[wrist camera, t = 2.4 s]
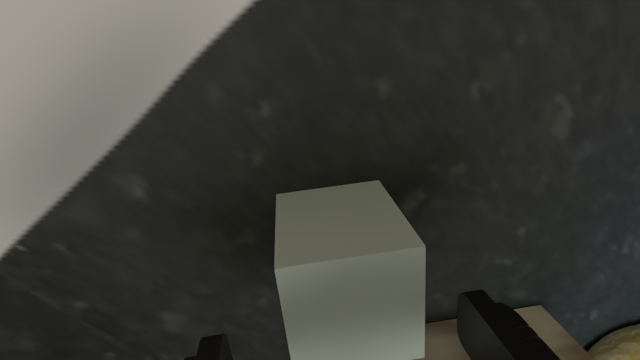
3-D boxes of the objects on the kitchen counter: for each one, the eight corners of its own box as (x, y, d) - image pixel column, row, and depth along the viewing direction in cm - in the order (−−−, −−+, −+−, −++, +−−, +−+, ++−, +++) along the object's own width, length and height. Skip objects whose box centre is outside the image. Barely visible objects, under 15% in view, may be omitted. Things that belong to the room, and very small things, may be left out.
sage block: (378, 179, 17) (425, 246, 12) (382, 265, 19) (424, 357, 14) (276, 193, 17) (274, 268, 11) (290, 279, 19) (294, 379, 13)
